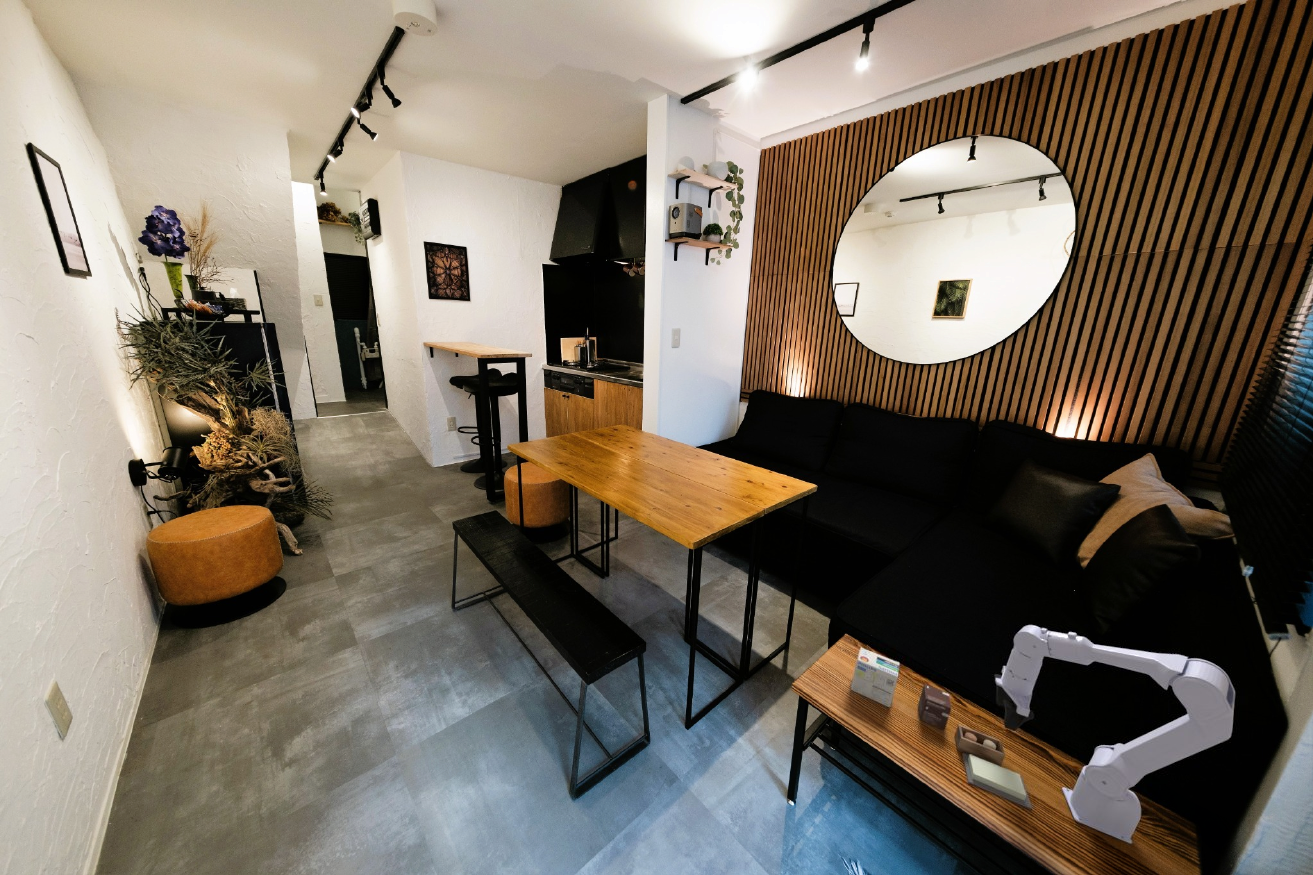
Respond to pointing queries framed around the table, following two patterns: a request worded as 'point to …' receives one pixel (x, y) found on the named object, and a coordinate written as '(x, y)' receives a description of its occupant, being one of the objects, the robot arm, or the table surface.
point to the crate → (979, 745)
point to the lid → (996, 777)
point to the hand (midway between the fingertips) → (1005, 716)
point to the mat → (1019, 801)
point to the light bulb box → (875, 676)
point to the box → (934, 706)
